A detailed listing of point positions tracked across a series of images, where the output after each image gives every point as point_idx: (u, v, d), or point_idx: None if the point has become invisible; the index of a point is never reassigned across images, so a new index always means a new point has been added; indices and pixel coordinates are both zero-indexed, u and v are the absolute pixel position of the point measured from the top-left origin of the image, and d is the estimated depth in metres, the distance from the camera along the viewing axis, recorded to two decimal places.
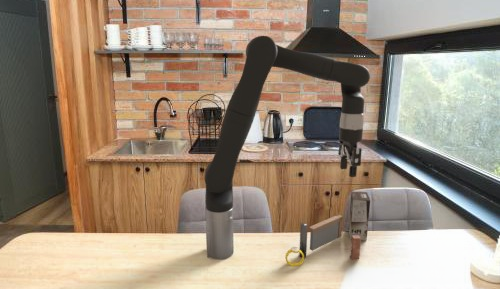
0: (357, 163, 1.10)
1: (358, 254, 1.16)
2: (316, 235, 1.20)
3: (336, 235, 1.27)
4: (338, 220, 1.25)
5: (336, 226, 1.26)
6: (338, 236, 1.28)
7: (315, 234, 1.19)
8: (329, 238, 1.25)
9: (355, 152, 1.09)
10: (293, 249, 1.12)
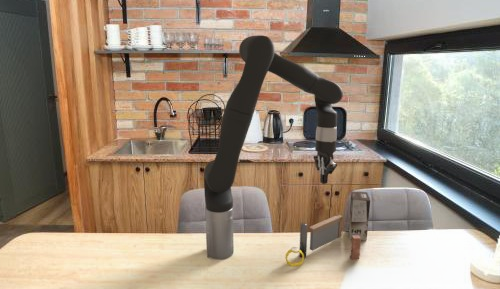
0: (329, 171, 1.26)
1: (358, 254, 1.16)
2: (316, 235, 1.20)
3: (336, 235, 1.27)
4: (338, 220, 1.25)
5: (336, 226, 1.26)
6: (338, 236, 1.28)
7: (315, 234, 1.19)
8: (329, 238, 1.25)
9: (331, 167, 1.23)
10: (293, 249, 1.12)
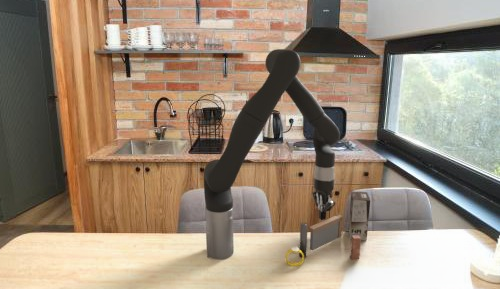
0: (327, 209, 1.29)
1: (358, 254, 1.16)
2: (316, 235, 1.20)
3: (336, 235, 1.27)
4: (338, 220, 1.25)
5: (336, 226, 1.26)
6: (338, 236, 1.28)
7: (315, 234, 1.19)
8: (329, 238, 1.25)
9: (329, 206, 1.26)
10: (293, 249, 1.12)
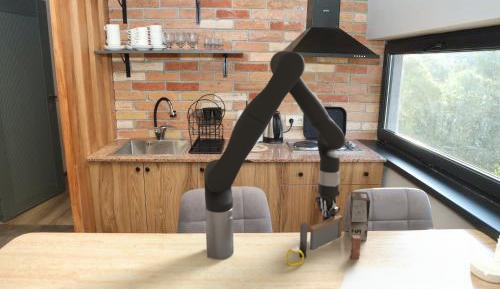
0: None
1: (358, 254, 1.16)
2: (316, 235, 1.20)
3: (336, 235, 1.27)
4: (338, 220, 1.25)
5: (336, 226, 1.26)
6: (338, 236, 1.28)
7: (315, 234, 1.19)
8: (329, 238, 1.25)
9: (334, 212, 1.24)
10: (293, 249, 1.12)
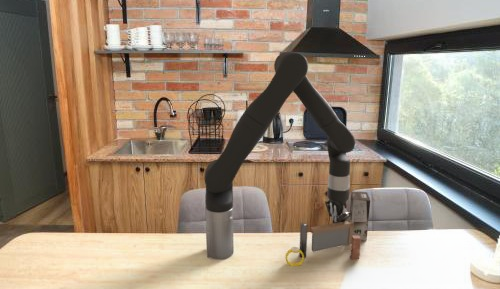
0: (342, 220, 1.23)
1: (358, 254, 1.16)
2: (319, 237, 1.18)
3: (345, 241, 1.23)
4: (347, 226, 1.21)
5: (345, 232, 1.22)
6: (348, 243, 1.23)
7: (317, 235, 1.18)
8: (336, 242, 1.21)
9: (344, 217, 1.19)
10: (293, 249, 1.12)
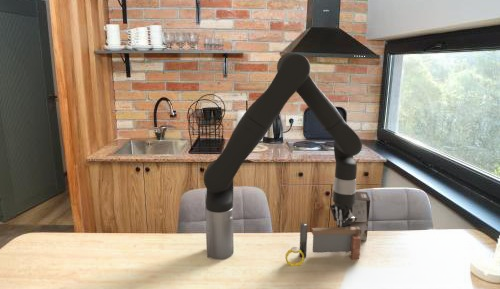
0: (347, 224, 1.19)
1: (358, 254, 1.16)
2: (319, 239, 1.17)
3: None
4: (353, 232, 1.17)
5: (350, 238, 1.18)
6: None
7: (317, 237, 1.17)
8: (339, 247, 1.18)
9: (350, 222, 1.16)
10: (293, 249, 1.12)
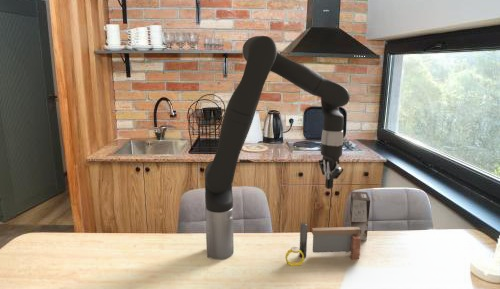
0: (335, 176, 1.23)
1: (358, 254, 1.16)
2: (319, 239, 1.17)
3: None
4: (353, 232, 1.17)
5: (350, 238, 1.18)
6: None
7: (317, 237, 1.17)
8: (339, 247, 1.18)
9: (337, 172, 1.19)
10: (293, 249, 1.12)
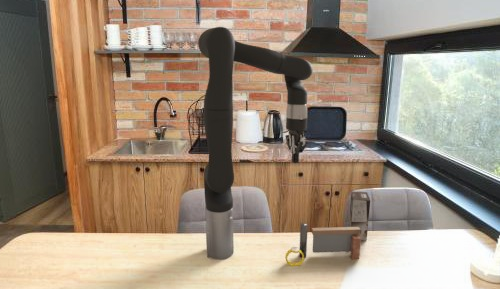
0: (300, 150, 1.24)
1: (358, 254, 1.16)
2: (319, 239, 1.17)
3: None
4: (353, 232, 1.17)
5: (350, 238, 1.18)
6: None
7: (317, 237, 1.17)
8: (339, 247, 1.18)
9: (301, 145, 1.21)
10: (293, 249, 1.12)
